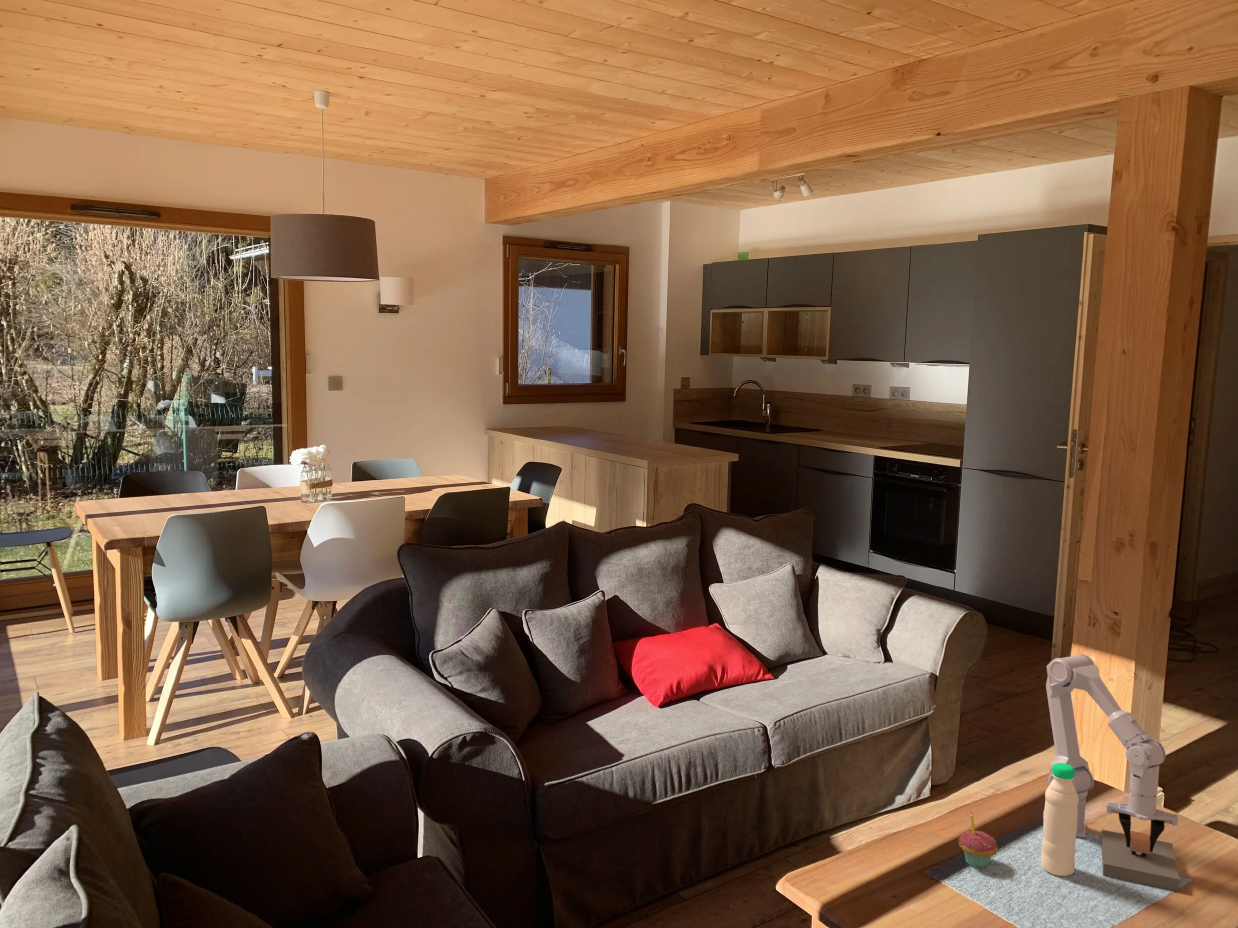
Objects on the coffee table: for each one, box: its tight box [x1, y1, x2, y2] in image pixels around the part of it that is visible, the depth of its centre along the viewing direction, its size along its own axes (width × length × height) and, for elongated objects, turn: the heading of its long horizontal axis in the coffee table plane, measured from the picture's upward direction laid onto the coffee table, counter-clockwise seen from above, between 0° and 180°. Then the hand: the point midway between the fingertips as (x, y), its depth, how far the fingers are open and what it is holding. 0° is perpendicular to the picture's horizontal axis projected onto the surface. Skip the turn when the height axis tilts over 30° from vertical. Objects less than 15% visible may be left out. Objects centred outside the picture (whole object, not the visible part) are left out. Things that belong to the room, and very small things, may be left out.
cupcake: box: [958, 811, 999, 869], centre depth 224 cm, size 9×8×12 cm
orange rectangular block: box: [1130, 830, 1150, 856], centre depth 224 cm, size 4×4×6 cm
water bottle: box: [1040, 763, 1079, 877], centre depth 220 cm, size 7×7×25 cm
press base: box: [1100, 829, 1180, 892], centre depth 224 cm, size 15×18×3 cm
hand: (1139, 847), depth 224 cm, fingers closed on orange rectangular block, 4 cm apart
